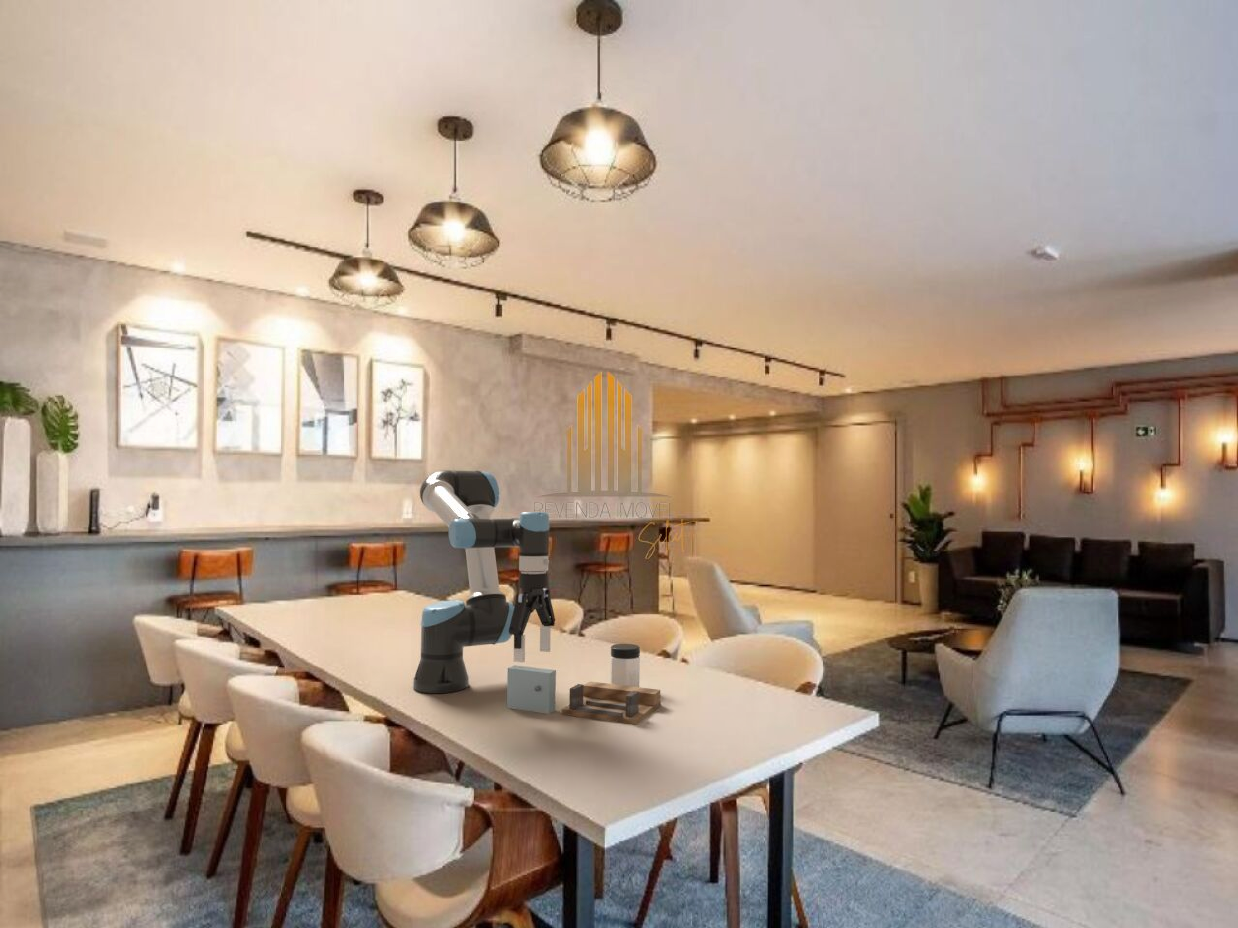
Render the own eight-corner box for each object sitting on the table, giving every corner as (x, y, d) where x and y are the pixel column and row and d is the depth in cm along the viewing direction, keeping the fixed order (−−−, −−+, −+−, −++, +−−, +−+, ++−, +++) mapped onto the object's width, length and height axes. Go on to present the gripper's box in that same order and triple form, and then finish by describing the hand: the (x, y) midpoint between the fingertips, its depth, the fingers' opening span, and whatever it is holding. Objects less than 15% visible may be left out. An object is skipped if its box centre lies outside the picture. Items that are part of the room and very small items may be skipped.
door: (504, 708, 182) (505, 668, 183) (513, 704, 186) (514, 665, 187) (546, 714, 178) (547, 673, 178) (555, 709, 182) (555, 669, 182)
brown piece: (561, 714, 178) (561, 688, 179) (590, 695, 195) (591, 672, 195) (636, 724, 171) (637, 698, 171) (660, 704, 188) (661, 680, 188)
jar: (619, 695, 196) (620, 650, 197) (603, 688, 203) (604, 645, 204) (646, 690, 201) (646, 647, 202) (629, 684, 208) (630, 642, 208)
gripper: (522, 577, 171) (521, 667, 170) (568, 568, 194) (567, 648, 193) (495, 575, 174) (493, 664, 173) (543, 567, 197) (542, 646, 196)
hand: (532, 656), depth 183 cm, fingers open, 13 cm apart
